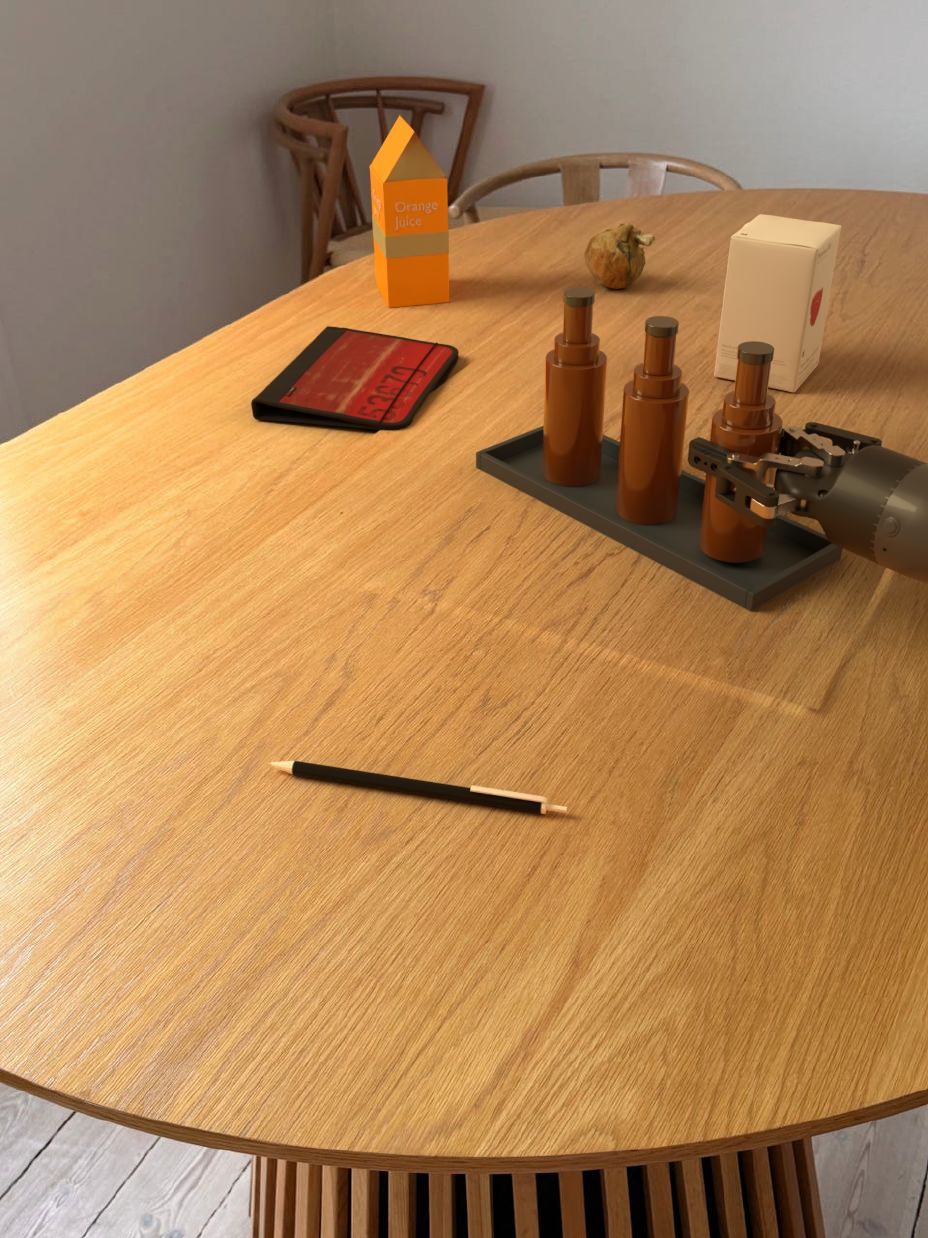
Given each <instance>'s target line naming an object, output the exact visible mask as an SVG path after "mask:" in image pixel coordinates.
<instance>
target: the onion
mask: <svg viewBox="0 0 928 1238" xmlns="http://www.w3.org/2000/svg"><path fill="white" fill-rule="evenodd" d="M655 241H656V238H655V236H654V235H653V234H648V233H647V234H645V233H644V232H643V231H642V229H640V228H639V227H637V226H636V225H634V223H632V224H631V223H628V222H627V223H626V222H624V223H623V222H622V223H619V226H618V227H616V228H610V229H606V230H604V231H602V232H598V233H597V234H595V235H593V236H592V237H591V238H590V239H589V241H588V243H587V246H586V248H585V250H584V254H583V255H584V256H583V257H584V262H585V265H586V267H587V269H588V270H589V272H590V273H591V275H592V276H593V277H594V279H596V281H598V282H599V284H600V285H601V286H604V287H605V288H608V289H614V290H619V289H625V288H628V287H631V286H632V285H633V284H634V283H635V282H636V281H637V280H638V279H639V278H640V277H641V275H642V273H643V272H644V267H645V265H646V256H645V251H644V248H645V247H644V246H646V247H650V246H651V245H652V244H653V243H654V242H655ZM639 245H641V246H643V247H640V246H639Z"/></svg>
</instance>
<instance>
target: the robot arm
mask: <svg viewBox="0 0 928 1238" xmlns="http://www.w3.org/2000/svg"><path fill="white" fill-rule="evenodd" d="M826 439H828V440H830V441H831V442H832V443H829V442H828V441H827V440H826ZM882 445H883V440H881V439H880V438H877V437H873V436H871V435H870V436H869V435H866V434H862V433H859V432H855V431H851V430H846V429H842V428H838V427H836V426H832V425H827V424H824V423H820V422H815V421H809V422H806V423H805V425H804V428H803V429H802V428H800V427H797V426H793V425H788V426H786V427H782V433H781V440H780V447H779V454H773V453H764V454H763V455H762V456H761V457H755V456H750V455H745V454H740V453H734V452H735V451H733V450H730V449H728V448H725V447H723V446H720V445H718V444H716V443H713V442H711V441H710V440H709V439H705V438H703V437H699V436H698V437H696V438H693V439H691V440H690V441H689V443H688V453H687V462H688V464H689V466H691V467H692V468H694V469H696V470H698V471H701V472H703V473H705V474H706V473H707V474H710V475H712V476H714V477H717V482H716V491H715V497H716V498H717V499H718V500H720V501H722V502H723V503H725V504H726V505H728V506H729V507H731V508H732V509H734V510H735V511H737V512H739V513H740V514H742V515H743V516H745V517H746V518H748V519H749V520H751V521H752V522H754V523H756V524H757V525H759V526H760V527H763V528H773V527H774V526H775V523H776V516H778V515H785V514H787V513H790V514H792V515H793V516H797V517H801V518H808V519H811V520H815V521H817V522H818V524H819V525H820V527H821V529H822V530H823V532H824V533H823V534H824V535H826V537H827V538H828V540H829V541H830V542H831V543H833V544H834V545H836V546H839V547H841V548H843V549H842V550H846V551H848V552H850V553H852V554H855V555H857V556H859V557H861V558H864V559H866V560H868V561H870V562H872V563H875V564H877V565H880V566H882V567H884V568H886V569H888V570H891V571H893V572H895V573H898V574H900V575H902V576H904V577H907V578H908V579H911V580H914V581H917V582H919V583H923V584H927V585H928V463H927V462H926V461H925V462H924V461H922V460H919V459H917V458H914V457H912V456H908V455H906V454H903V453H901V452H898V451H895V450H893V449H889V448H887V447H884V446H882ZM742 468H748V469H753V470H755V472H756V478H754V477H753V476H751V475H749V474H748V473H746V472H744V471H743V470H742ZM771 468H777V469H776V473H775V480H774V486H773V485H772V484H768V483H769V476H770V469H771ZM773 487H774V489H773ZM733 490H736V492H734V491H733Z"/></svg>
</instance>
